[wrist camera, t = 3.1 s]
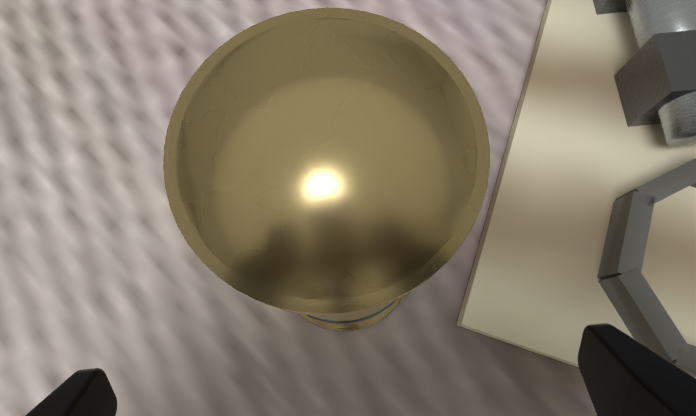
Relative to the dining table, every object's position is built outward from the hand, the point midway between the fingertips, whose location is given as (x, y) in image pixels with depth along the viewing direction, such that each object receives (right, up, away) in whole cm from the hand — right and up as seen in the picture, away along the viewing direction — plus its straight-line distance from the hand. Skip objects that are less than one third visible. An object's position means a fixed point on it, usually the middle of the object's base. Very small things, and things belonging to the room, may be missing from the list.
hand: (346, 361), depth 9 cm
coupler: (0, +1, +11) cm, 11 cm away
